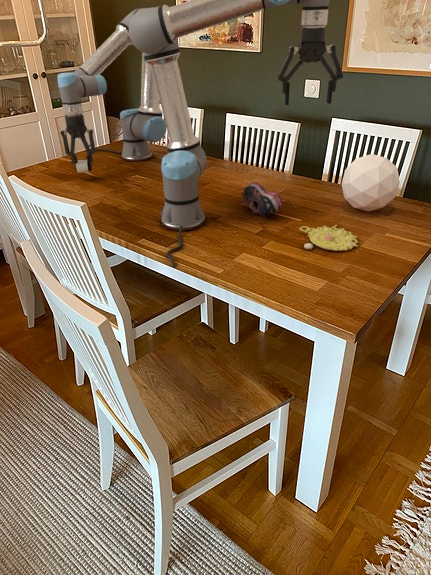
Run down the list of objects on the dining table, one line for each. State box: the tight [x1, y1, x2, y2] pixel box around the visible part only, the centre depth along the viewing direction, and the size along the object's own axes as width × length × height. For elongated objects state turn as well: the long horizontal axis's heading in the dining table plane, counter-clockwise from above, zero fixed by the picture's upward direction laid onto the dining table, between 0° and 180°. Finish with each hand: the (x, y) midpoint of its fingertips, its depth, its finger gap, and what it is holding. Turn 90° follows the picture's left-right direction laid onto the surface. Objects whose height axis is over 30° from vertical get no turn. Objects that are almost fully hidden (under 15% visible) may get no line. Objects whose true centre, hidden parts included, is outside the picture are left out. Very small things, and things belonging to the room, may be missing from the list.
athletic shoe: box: [238, 182, 284, 217], centre depth 160 cm, size 11×22×12 cm
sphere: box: [341, 153, 401, 213], centre depth 157 cm, size 19×20×20 cm
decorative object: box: [299, 224, 359, 252], centre depth 141 cm, size 21×2×20 cm
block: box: [75, 159, 90, 174], centre depth 193 cm, size 5×5×4 cm
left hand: (84, 170), depth 194 cm, fingers closed on block, 5 cm apart
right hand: (307, 103), depth 142 cm, fingers open, 13 cm apart
